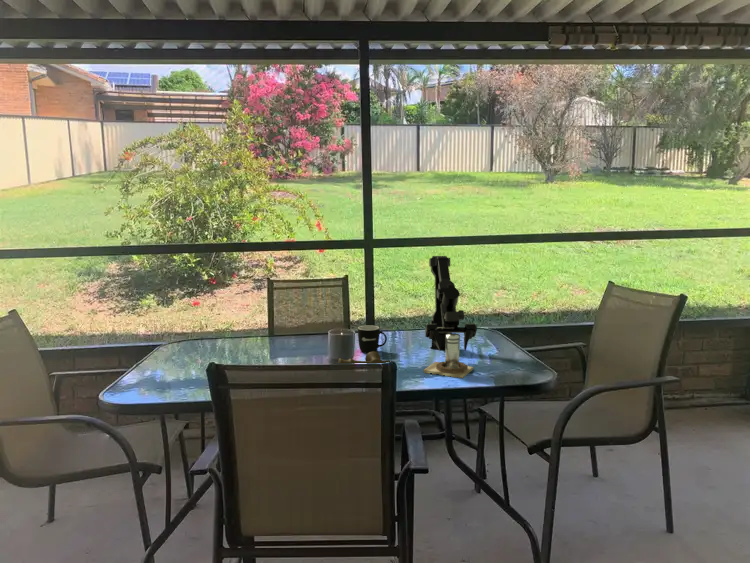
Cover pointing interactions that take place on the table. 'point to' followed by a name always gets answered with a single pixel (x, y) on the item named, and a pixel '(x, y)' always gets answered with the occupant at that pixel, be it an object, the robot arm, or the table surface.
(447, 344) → the cylinder
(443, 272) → the robot arm
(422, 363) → the table surface
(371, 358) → the kendama
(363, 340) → the mug
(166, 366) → the table surface
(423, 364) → the table surface
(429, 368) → the collar
